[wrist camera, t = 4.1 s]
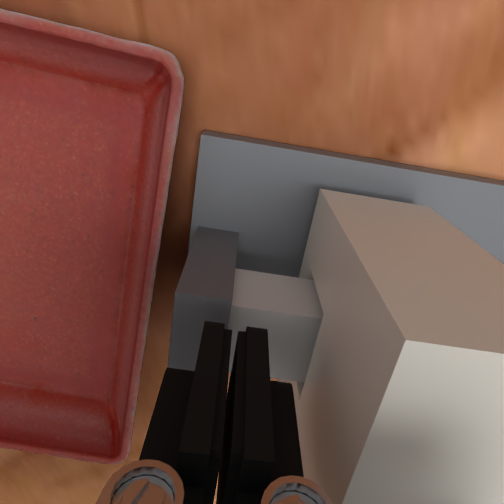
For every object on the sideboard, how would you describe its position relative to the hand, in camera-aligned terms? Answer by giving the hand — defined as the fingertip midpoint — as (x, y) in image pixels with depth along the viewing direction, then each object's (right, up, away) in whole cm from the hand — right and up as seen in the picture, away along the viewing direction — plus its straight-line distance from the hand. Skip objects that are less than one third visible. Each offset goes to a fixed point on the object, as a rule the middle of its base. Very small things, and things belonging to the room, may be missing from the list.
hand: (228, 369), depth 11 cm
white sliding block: (+4, +1, +5) cm, 7 cm away
